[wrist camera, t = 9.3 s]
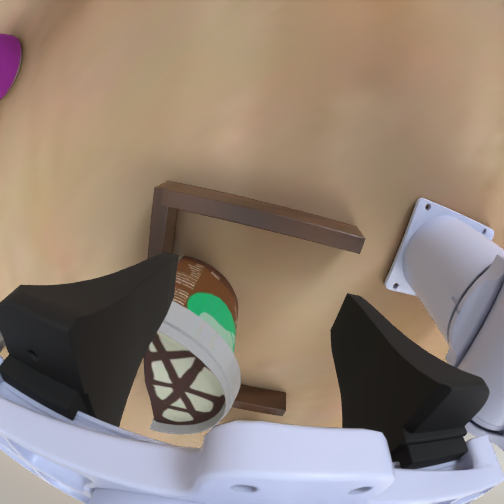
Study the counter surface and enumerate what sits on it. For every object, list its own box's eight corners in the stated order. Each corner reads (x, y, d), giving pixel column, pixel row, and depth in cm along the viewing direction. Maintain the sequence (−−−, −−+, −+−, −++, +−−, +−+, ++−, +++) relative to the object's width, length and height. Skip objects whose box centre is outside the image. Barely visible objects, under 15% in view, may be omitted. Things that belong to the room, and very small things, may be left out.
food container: (242, 364, 27) (227, 450, 18) (182, 352, 28) (150, 432, 18) (262, 252, 22) (250, 337, 13) (185, 238, 23) (128, 311, 13)
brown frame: (357, 226, 21) (365, 238, 19) (282, 398, 29) (282, 416, 27) (167, 180, 21) (154, 187, 19) (154, 367, 29) (146, 383, 27)
